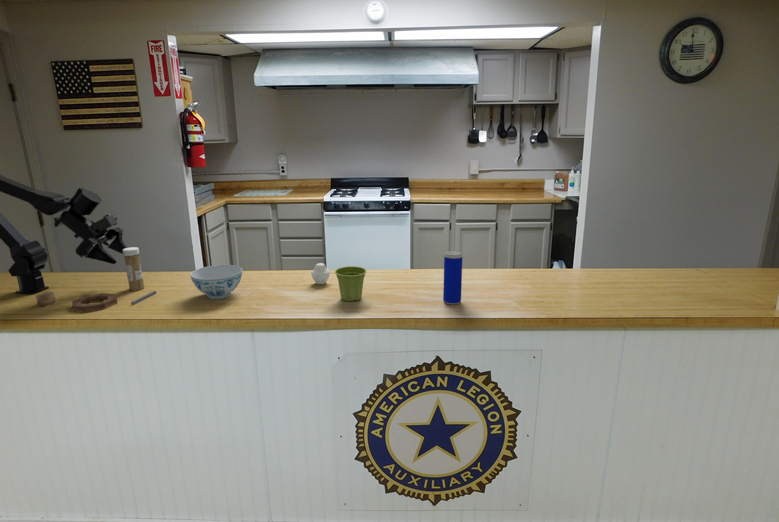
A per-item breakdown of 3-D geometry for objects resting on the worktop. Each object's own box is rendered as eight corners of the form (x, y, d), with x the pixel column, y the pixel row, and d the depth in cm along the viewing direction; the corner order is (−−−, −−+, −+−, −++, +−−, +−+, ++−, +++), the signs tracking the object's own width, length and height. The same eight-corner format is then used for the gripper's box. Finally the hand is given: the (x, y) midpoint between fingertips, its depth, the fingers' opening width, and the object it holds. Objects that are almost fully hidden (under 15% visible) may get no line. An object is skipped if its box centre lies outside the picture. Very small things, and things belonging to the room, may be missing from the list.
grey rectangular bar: (133, 304, 140) (133, 302, 140) (131, 304, 140) (130, 301, 140) (156, 293, 150) (156, 291, 150) (154, 293, 150) (153, 290, 150)
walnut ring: (63, 310, 137) (62, 305, 136) (94, 297, 147) (93, 292, 147) (96, 312, 134) (95, 307, 134) (125, 299, 145) (124, 294, 144)
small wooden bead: (34, 307, 139) (32, 297, 139) (43, 301, 144) (40, 292, 143) (51, 306, 140) (49, 296, 139) (58, 301, 144) (56, 291, 143)
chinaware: (210, 286, 156) (208, 263, 154) (253, 289, 153) (251, 265, 151) (182, 302, 142) (179, 277, 140) (228, 305, 139) (226, 280, 137)
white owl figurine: (329, 286, 155) (328, 265, 153) (310, 286, 155) (309, 265, 153) (331, 280, 161) (330, 260, 159) (313, 280, 161) (312, 260, 159)
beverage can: (462, 300, 141) (464, 251, 137) (459, 306, 137) (460, 255, 133) (445, 298, 143) (446, 249, 139) (441, 304, 138) (442, 254, 134)
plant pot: (372, 295, 146) (371, 268, 144) (357, 305, 138) (356, 277, 136) (345, 291, 150) (344, 265, 148) (330, 301, 142) (328, 273, 139)
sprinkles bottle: (145, 289, 154) (139, 248, 150) (129, 291, 151) (123, 250, 148) (143, 285, 157) (137, 245, 154) (128, 288, 155) (121, 247, 151)
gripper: (78, 212, 138) (123, 248, 141) (112, 202, 156) (151, 234, 159) (56, 239, 140) (101, 274, 143) (92, 226, 158) (131, 258, 161)
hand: (123, 259), depth 152 cm, fingers open, 9 cm apart
